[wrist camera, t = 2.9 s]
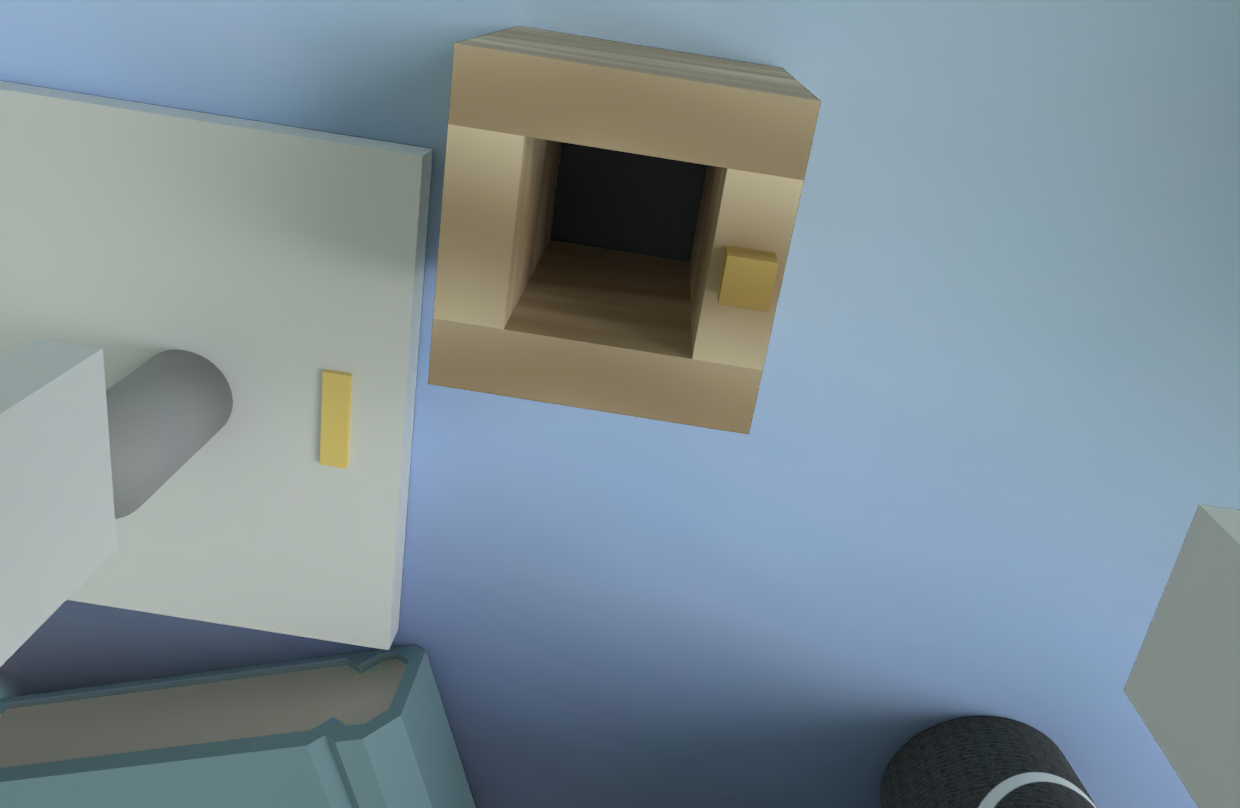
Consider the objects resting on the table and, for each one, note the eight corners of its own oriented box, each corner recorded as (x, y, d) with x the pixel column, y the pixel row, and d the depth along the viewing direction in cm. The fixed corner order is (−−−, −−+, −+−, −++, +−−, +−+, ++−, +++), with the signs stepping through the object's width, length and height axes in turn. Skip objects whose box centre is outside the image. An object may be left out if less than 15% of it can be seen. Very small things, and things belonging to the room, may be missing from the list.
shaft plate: (-36, 74, 28) (-223, 99, 22) (432, 149, 28) (368, 192, 22) (16, 568, 34) (-120, 686, 28) (398, 628, 34) (340, 759, 28)
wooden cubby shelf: (518, 25, 26) (445, 45, 18) (782, 67, 26) (826, 106, 18) (492, 282, 29) (418, 397, 21) (732, 320, 29) (751, 450, 21)
